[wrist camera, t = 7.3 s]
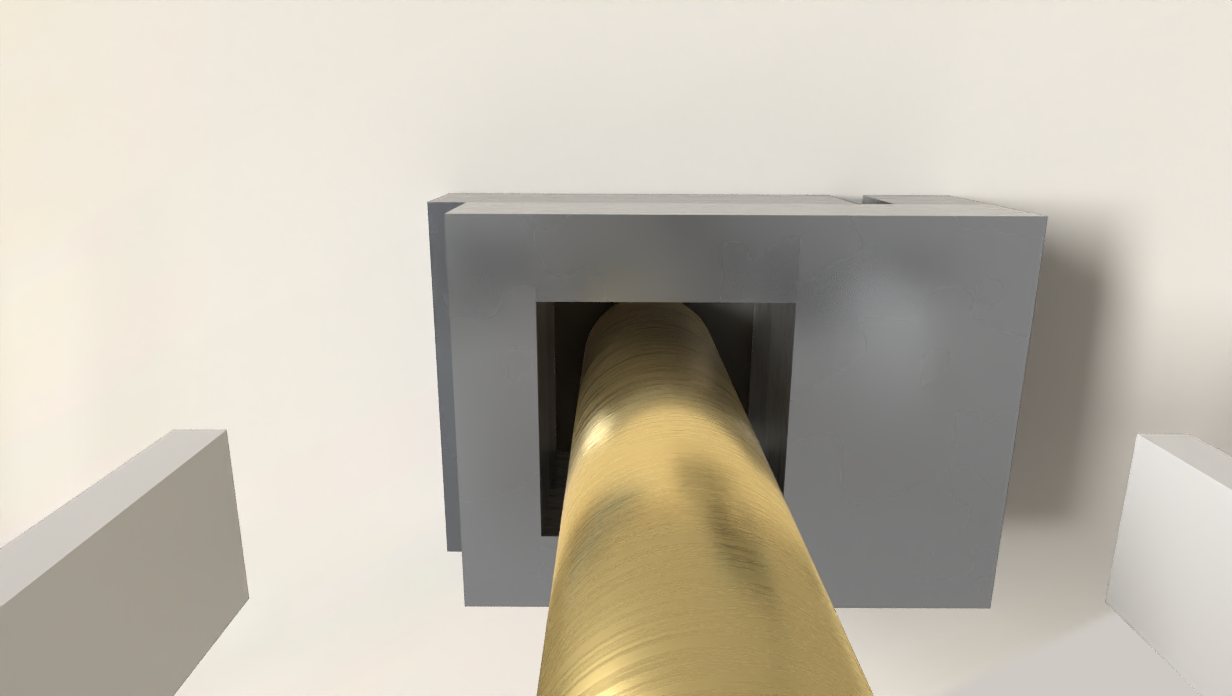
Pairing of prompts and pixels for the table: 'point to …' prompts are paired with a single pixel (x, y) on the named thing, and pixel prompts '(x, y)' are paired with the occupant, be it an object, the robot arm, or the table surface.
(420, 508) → the table surface
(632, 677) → the pin
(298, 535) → the table surface
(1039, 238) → the grey block with pocket
